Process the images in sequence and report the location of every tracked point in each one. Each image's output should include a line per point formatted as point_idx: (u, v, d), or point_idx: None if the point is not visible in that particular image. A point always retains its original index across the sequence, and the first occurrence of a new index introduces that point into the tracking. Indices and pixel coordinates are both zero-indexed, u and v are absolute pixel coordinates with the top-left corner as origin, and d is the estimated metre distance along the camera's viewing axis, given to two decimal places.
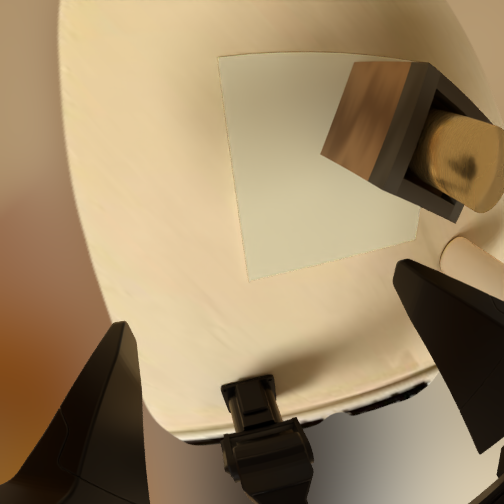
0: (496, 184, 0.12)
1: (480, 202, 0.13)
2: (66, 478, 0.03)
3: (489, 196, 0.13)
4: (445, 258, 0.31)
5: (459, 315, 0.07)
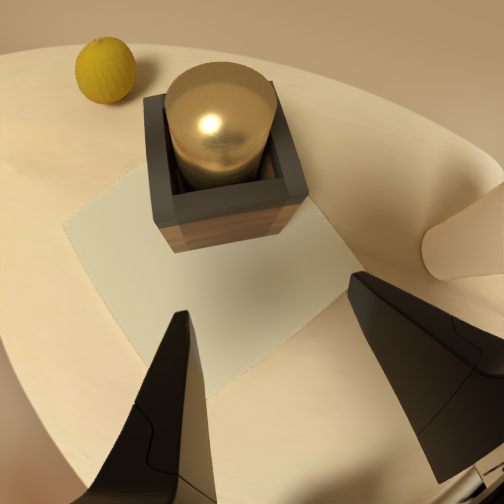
0: (248, 101, 0.12)
1: (233, 129, 0.12)
2: (162, 479, 0.04)
3: (247, 116, 0.12)
4: (428, 263, 0.24)
5: (411, 337, 0.07)
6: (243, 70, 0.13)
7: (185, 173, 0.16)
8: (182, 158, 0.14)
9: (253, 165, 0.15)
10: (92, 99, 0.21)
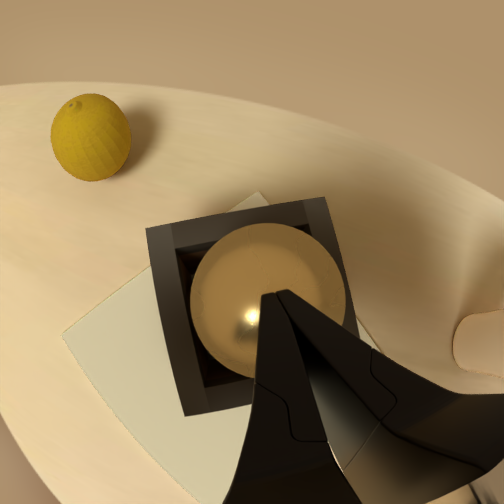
0: None
1: None
2: (315, 449, 0.04)
3: None
4: (458, 359, 0.20)
5: (322, 370, 0.06)
6: (299, 241, 0.10)
7: None
8: None
9: None
10: (78, 178, 0.18)
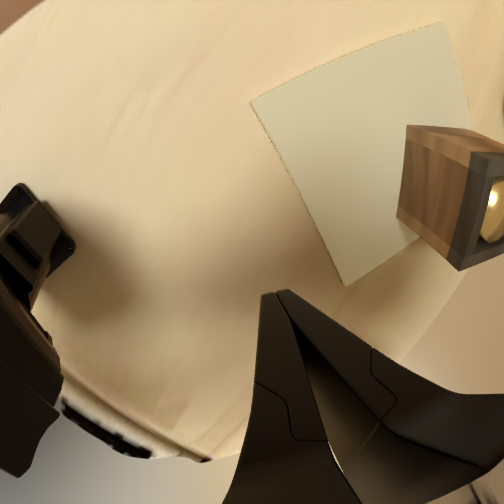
0: (496, 227, 0.16)
1: (489, 218, 0.15)
2: (314, 449, 0.04)
3: (491, 226, 0.16)
4: None
5: (322, 370, 0.06)
6: None
7: None
8: None
9: None
10: None
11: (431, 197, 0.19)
